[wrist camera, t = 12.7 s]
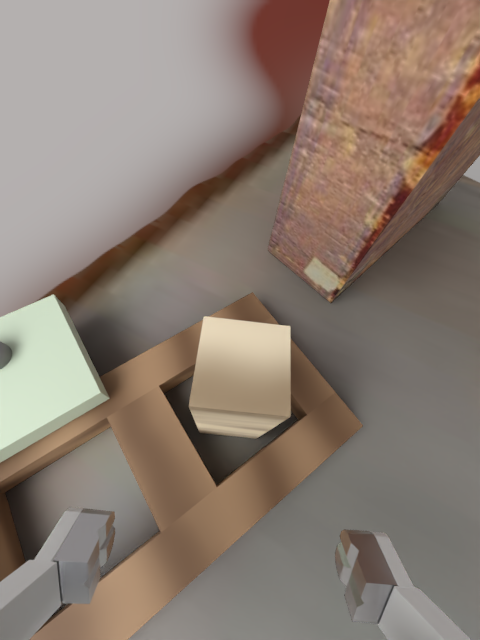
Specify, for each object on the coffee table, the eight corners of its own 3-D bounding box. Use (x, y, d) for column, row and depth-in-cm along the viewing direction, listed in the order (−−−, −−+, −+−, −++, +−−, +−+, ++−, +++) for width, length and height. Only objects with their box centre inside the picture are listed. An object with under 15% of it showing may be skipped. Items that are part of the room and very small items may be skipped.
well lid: (64, 306, 23) (46, 287, 20) (109, 398, 20) (94, 388, 17) (-73, 367, 19) (-115, 353, 17) (-45, 489, 16) (-91, 493, 14)
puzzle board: (249, 306, 27) (252, 292, 25) (348, 429, 23) (363, 425, 20) (-91, 500, 18) (-134, 505, 16) (-45, 779, 13) (-95, 841, 11)
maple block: (207, 377, 24) (203, 316, 14) (259, 382, 24) (290, 326, 14) (199, 433, 22) (188, 406, 12) (256, 438, 22) (290, 417, 12)
